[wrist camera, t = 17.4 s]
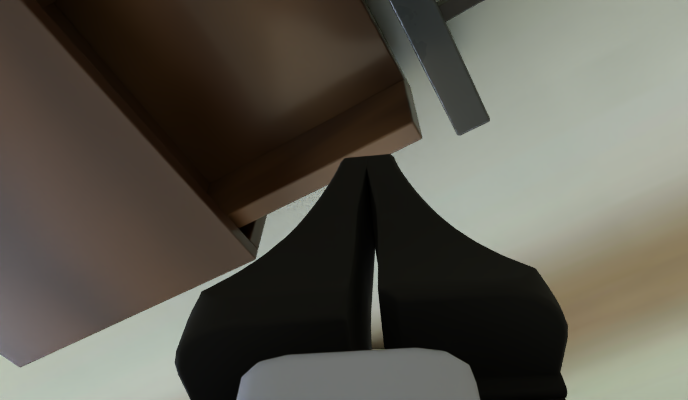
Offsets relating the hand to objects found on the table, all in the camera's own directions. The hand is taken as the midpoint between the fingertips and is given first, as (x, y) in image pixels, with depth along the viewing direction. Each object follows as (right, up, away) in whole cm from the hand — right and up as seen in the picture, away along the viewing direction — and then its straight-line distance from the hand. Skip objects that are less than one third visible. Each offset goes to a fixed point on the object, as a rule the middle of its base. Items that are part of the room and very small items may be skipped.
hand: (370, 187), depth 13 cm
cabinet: (-14, +3, +11) cm, 17 cm away
